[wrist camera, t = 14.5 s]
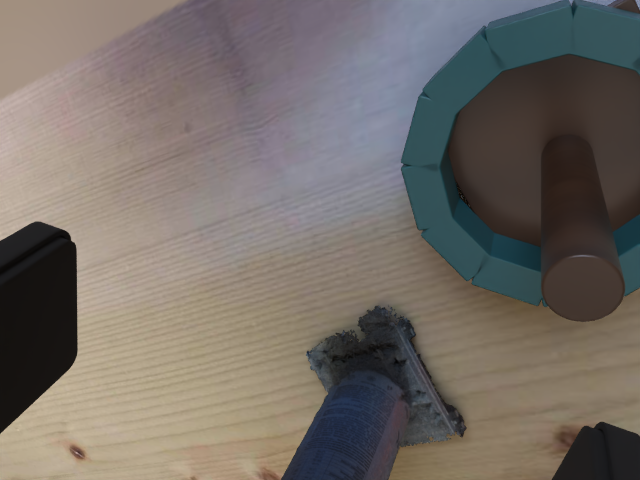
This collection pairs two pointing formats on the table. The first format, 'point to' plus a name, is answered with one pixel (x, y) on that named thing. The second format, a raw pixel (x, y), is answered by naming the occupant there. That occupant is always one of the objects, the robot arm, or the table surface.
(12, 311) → the robot arm
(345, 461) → the can on ragged base
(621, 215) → the post
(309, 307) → the table surface
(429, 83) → the ring
